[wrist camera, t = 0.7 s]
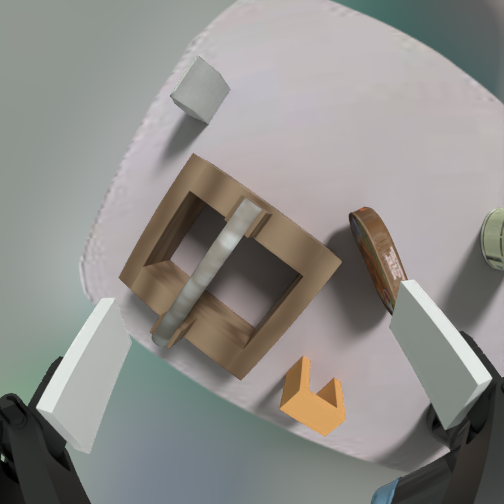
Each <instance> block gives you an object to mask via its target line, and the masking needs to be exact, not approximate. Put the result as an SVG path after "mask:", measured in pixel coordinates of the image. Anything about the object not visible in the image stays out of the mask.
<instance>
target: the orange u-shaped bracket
mask: <svg viewBox="0 0 504 504" xmlns="http://www.w3.org/2000/svg"><path fill="white" fill-rule="evenodd" d="M309 384H310V360H308V359H307V358H305V357H304V356H302V357H301V358H300V360H299V361H298V362H297V363H296V364H295V365H294V366H293V367H292V368H291V369H290V370H289V371H288V372H287V374H286V379H285V384H284V389H283V394H282V399H281V403H280V408H279V409H280V410H282V411H283V412H285V413H286V414H288V415H289V416H291V417H293V418H294V419H296V420H298V421H299V422H301V423H303V424H304V425H306V426H308V427H309V428H311V429H313V430H314V431H316V432H318V433H320V434H321V435H323V436H326V435H328V434H329V433H330V432H331V431H333V430H334V429H335V428H336V427H338V426H339V425H340V424H341V423H342V422H344V421H345V420H346V417H345V409H344V401H343V394H342V386H341V382H340V381H338V380H337V379H335V378H333V379H332V380H331V381H330V382H329V383H328V384H327V385H326V386H325V387H324V388H323V389H322V390H321V391H320V392H319V393H318V394H317V395H316V394H314V393H313V392H311V391H310V390H309Z"/></svg>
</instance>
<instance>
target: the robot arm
mask: <svg viewBox="0 0 504 504" xmlns="http://www.w3.org/2000/svg"><path fill="white" fill-rule="evenodd" d="M389 328H390V329H391V331H392V333H393V334H394V336H395V338H396V339H397V341H398V343H399V344H400V346H401V348H402V350H403V351H404V353H405V355H406V357H407V358H408V360H409V362H410V364H411V366H412V367H413V369H414V371H415V373H416V375H417V376H418V378H419V380H420V382H421V384H422V386H423V388H424V389H425V391H426V393H427V395H428V397H429V399H430V401H431V403H432V405H431V407H430V409H429V412H428V416H427V425H428V428H429V430H430V432H431V434H432V436H433V437H434V438H435V439H437V440H438V441H439V442H441V443H442V444H443V445H445V446H446V447H448V448H449V449H450V451H451V452H449V453H447V454H446V455H444V456H442V457H440V458H438V459H437V460H435V461H433V462H431V463H430V464H428V465H426V466H424V467H422V468H420V469H418V470H416V471H414V472H412V473H410V474H408V475H406V476H404V477H399V478H397V479H396V480H395V481H393V482H391V483H389V484H386V485H384V486H382V487H380V488H379V489H378V490H377V491H376V492H375V493H374V495H373V497H372V501H371V504H504V377H503V378H502V377H501V376H500V375H499V373H498V372H497V370H496V369H495V368H494V366H493V365H492V364H491V362H490V361H489V359H488V358H487V357H486V355H485V354H483V351H482V350H481V349H480V348H479V347H478V345H477V344H476V342H475V341H474V340H473V339H472V337H470V336H469V335H467V334H466V333H465V332H463V331H460V332H458V331H457V330H456V328H455V327H454V326H453V325H452V323H451V322H450V321H449V320H448V318H447V317H446V316H445V315H444V314H443V312H442V311H441V310H440V309H439V308H438V307H437V305H436V304H435V303H434V302H433V301H432V300H431V298H430V297H429V296H428V295H427V294H426V293H425V292H424V290H423V289H422V288H421V287H420V286H419V285H418V284H417V283H416V282H415V280H406V281H401V282H400V286H399V291H398V295H397V299H396V304H395V308H394V311H393V315H392V319H391V323H390V326H389ZM131 344H132V342H131V339H130V337H129V334H128V332H127V329H126V326H125V324H124V321H123V318H122V315H121V312H120V310H119V307H118V304H117V301H116V298H102V299H101V300H100V302H99V303H98V305H97V306H96V308H95V309H94V311H93V312H92V314H91V315H90V317H89V318H88V320H87V321H86V323H85V324H84V326H83V327H82V329H81V330H80V332H79V334H78V335H77V337H76V338H75V340H74V341H73V343H72V345H71V346H70V348H69V350H68V351H67V353H66V355H65V356H64V357H59V358H58V359H57V360H55V361H54V362H53V363H52V364H51V366H50V367H49V369H48V371H47V372H46V375H45V376H44V377H43V380H42V382H41V383H40V384H39V386H38V388H37V390H36V392H35V394H34V395H33V397H32V399H31V401H30V403H29V405H28V406H26V405H25V404H24V403H23V401H22V400H21V399H20V398H19V397H18V396H17V395H16V394H13V393H10V394H6V395H4V396H2V397H1V398H0V504H91V503H90V501H89V499H88V497H87V495H86V492H85V490H84V488H83V486H82V484H81V482H80V480H79V477H78V476H77V473H76V471H75V468H74V466H73V463H72V461H71V458H70V456H69V453H68V451H67V450H66V448H65V445H66V442H67V443H68V444H69V445H70V446H71V447H72V448H74V449H75V450H79V451H82V452H85V453H89V454H90V452H91V449H92V446H93V443H94V440H95V436H96V434H97V430H98V428H99V425H100V422H101V420H102V417H103V414H104V411H105V409H106V406H107V403H108V401H109V398H110V395H111V393H112V390H113V387H114V385H115V382H116V380H117V377H118V375H119V372H120V370H121V367H122V365H123V363H124V360H125V357H126V355H127V353H128V350H129V348H130V346H131ZM1 454H2V455H3V456H4V457H5V460H4V462H3V461H2V460H1Z"/></svg>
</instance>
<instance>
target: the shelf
mask: <svg viewBox="0 0 504 504" xmlns="http://www.w3.org/2000/svg"><path fill="white" fill-rule="evenodd" d="M206 203H207V204H208V205H210V206H211V207H212V208H214V209H215V210H216V211H218V212H219V213H220V214H222V215H223V216H224V217H225V219H224V220H225V221H226V222H228V223H227V224H226V226H225V227H224V228H223V230H222V231H221V233H220V234H219V236H218V237H217V239H216V240H215V241H214V243H213V244H212V246H211V247H210V249H209V250H208V252H207V253H206V255H205V256H204V258H203V259H202V261H201V262H200V263H199V265H198V266H197V268H196V269H195V271H194V272H193V274H192V275H191V277H190V276H188V275H187V274H186V273H185V272H184V271H182V270H181V269H180V268H179V267H178V266H176V265H175V264H174V263H173V262H172V261H171V260H170V258H171V257H172V255H173V254H174V252H175V250H176V249H177V247H178V246H179V244H180V243H181V241H182V239H183V238H184V236H185V235H186V233H187V232H188V230H189V229H190V227H191V226H192V224H193V223H194V221H195V219H196V218H197V216H198V215H199V213H200V212H201V210H202V209H203V207H204V206H205V204H206ZM243 235H245V236H246V237H247V238H249V237H252V238H254V239H255V240H256V241H258V242H259V243H260V244H262V245H263V246H264V247H266V248H267V249H268V250H270V251H271V252H272V253H273V254H275V255H276V256H277V257H279V258H280V259H281V260H283V261H284V262H285V263H287V264H288V265H289V266H291V267H292V268H293V269H294V270H296V271H297V272H298V273H299V274H298V276H297V277H296V278H295V279H294V281H293V282H292V283H291V285H290V286H289V287H288V288H287V290H286V291H285V292H284V293H283V295H282V296H281V297H280V298H279V300H278V301H277V302H276V303H275V305H274V306H273V307H272V308H271V310H270V311H269V312H268V313H267V314H266V316H265V317H264V318H263V319H262V321H261V322H260V323H259V324H258V325H257V327H256V328H254V327H253V326H252V325H250V324H249V323H248V322H246V321H245V320H244V319H242V318H241V317H240V316H238V315H237V314H236V313H235V312H233V311H232V310H231V309H229V308H228V307H227V306H226V305H224V304H223V303H222V302H221V301H219V300H218V299H217V298H216V297H214V296H213V295H212V294H211V293H209V292H208V291H207V290H206V288H207V286H208V285H209V283H210V282H211V280H212V279H213V278H214V276H215V275H216V273H217V272H218V271H219V269H220V268H221V266H222V265H223V263H224V262H225V261H226V259H227V258H228V256H229V255H230V254H231V252H232V251H233V249H234V248H235V247H236V245H237V244H238V242H239V241H240V240H241V238H242V237H243ZM341 263H342V261H341V260H340V259H339V257H338V256H337V255H336V254H335V253H334V252H332V251H331V250H330V249H328V248H327V247H326V246H325V245H323V244H322V243H321V242H319V241H318V240H317V239H315V238H314V237H313V236H312V235H310V234H309V233H308V232H306V231H305V230H304V229H302V228H301V227H300V226H298V225H297V224H296V223H294V222H293V221H292V220H290V219H289V218H288V217H286V216H285V215H284V214H282V213H281V212H279V211H278V210H277V209H275V208H274V207H273V206H271V205H270V204H269V203H267V202H266V201H264V200H263V199H262V198H260V197H259V196H257V195H256V194H255V193H253V192H252V191H250V190H249V189H248V188H246V187H245V186H243V185H242V184H241V183H239V182H238V181H236V180H235V179H233V178H232V177H231V176H229V175H228V174H226V173H225V172H223V171H222V170H220V169H219V168H217V167H216V166H215V165H213V164H211V163H209V162H208V161H206V160H204V159H202V158H201V157H199V156H197V155H195V154H194V153H193V154H192V155H191V157H190V158H189V160H188V161H187V163H186V164H185V166H184V167H183V169H182V170H181V172H180V173H179V175H178V176H177V178H176V179H175V181H174V182H173V184H172V186H171V187H170V189H169V190H168V192H167V193H166V195H165V197H164V198H163V200H162V201H161V203H160V205H159V206H158V208H157V210H156V211H155V213H154V215H153V216H152V218H151V220H150V221H149V223H148V225H147V227H146V228H145V230H144V232H143V233H142V235H141V237H140V239H139V241H138V242H137V244H136V246H135V248H134V250H133V251H132V253H131V255H130V257H129V259H128V261H127V263H126V264H125V266H124V268H123V270H122V272H121V274H120V276H119V279H120V280H121V281H122V282H123V283H124V284H125V285H126V286H128V287H129V288H130V289H131V290H132V291H133V292H134V293H135V294H136V295H137V296H138V297H139V298H140V299H141V300H142V301H144V302H145V303H146V304H147V305H148V306H149V307H150V308H151V309H152V310H153V311H155V312H156V313H157V314H158V315H159V316H160V317H159V319H158V320H157V322H156V323H155V325H154V327H153V328H152V330H151V331H150V333H151V334H152V340H153V342H154V343H155V344H156V345H158V346H160V347H165V346H166V347H167V348H168V349H169V348H171V347H172V346H173V345H174V344H175V343H176V342H178V341H179V340H180V339H181V338H182V337H183V336H184V337H185V338H186V339H187V340H189V341H190V342H191V343H192V344H193V345H195V346H196V347H197V348H198V349H200V350H201V351H202V352H204V353H205V354H206V355H207V356H209V357H210V358H211V359H213V360H214V361H215V362H216V363H218V364H219V365H220V366H222V367H223V368H224V369H226V370H227V371H228V372H230V373H231V374H232V375H234V376H235V377H237V378H238V379H239V380H242V379H243V378H244V377H245V376H246V375H247V374H248V373H249V372H250V370H251V369H252V368H253V367H254V366H255V365H256V364H257V363H258V362H259V361H260V360H261V359H262V357H263V356H264V355H265V354H266V353H267V352H268V351H269V350H270V349H271V347H272V346H273V345H274V344H275V343H276V342H277V341H278V340H279V338H280V337H281V336H282V335H283V334H284V333H285V332H286V330H287V329H288V328H289V327H290V326H291V325H292V323H293V322H294V321H295V320H296V319H297V318H298V316H299V315H300V314H301V313H302V312H303V310H304V309H305V308H306V307H307V306H308V304H309V303H310V302H311V301H312V299H313V298H314V297H315V296H316V295H317V293H318V292H319V291H320V290H321V288H322V287H323V286H324V285H325V283H326V282H327V281H328V280H329V278H330V277H331V276H332V274H333V273H334V272H335V271H336V269H337V268H338V267H339V265H340V264H341Z"/></svg>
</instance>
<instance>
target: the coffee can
mask: <svg viewBox="0 0 504 504" xmlns="http://www.w3.org/2000/svg"><path fill="white" fill-rule="evenodd" d="M481 249H482V253H483V256H484V258H485V260H486V262H487V263H488V264H489V265H490V266H491V267H492V268H494V269H497V270H502V271H504V208H496V209H494V210H492V211H491V212H490V213H489V214H488V215H487V217H486V218H485V220H484V223H483V225H482V230H481Z"/></svg>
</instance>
